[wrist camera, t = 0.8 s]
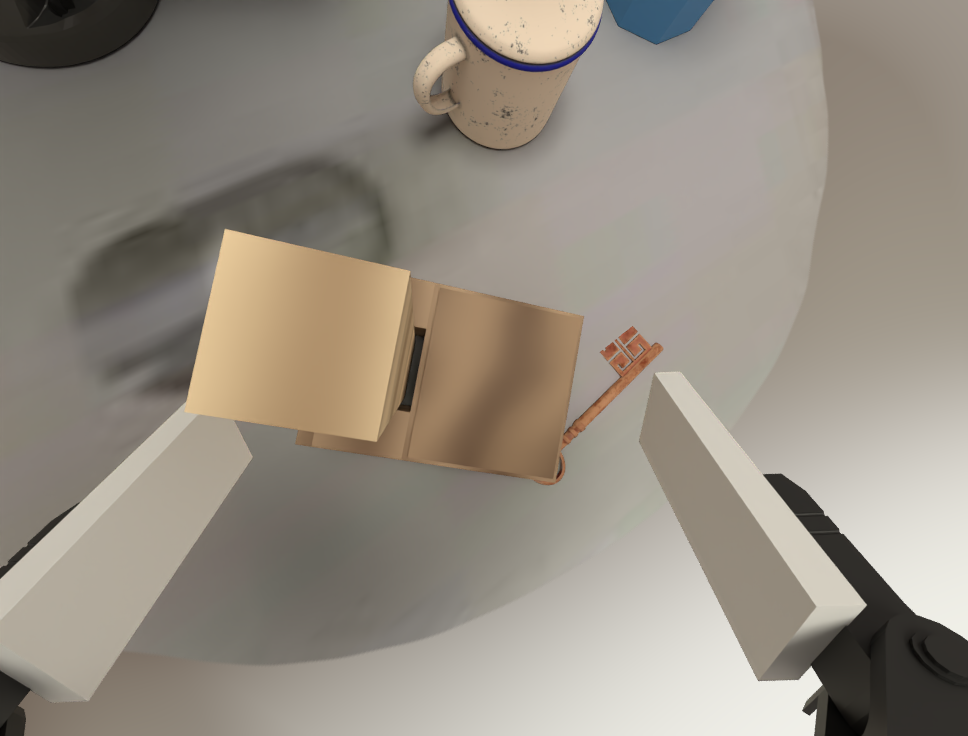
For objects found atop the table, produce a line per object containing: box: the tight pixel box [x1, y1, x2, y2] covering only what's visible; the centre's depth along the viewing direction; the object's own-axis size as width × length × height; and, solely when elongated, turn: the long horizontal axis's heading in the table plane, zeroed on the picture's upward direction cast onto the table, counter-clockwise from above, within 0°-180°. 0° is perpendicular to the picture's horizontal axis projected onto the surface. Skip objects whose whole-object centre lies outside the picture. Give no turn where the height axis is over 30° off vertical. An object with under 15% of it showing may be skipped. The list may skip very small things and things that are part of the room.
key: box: [534, 326, 663, 485], centre depth 31 cm, size 6×1×15 cm
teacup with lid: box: [413, 0, 604, 149], centre depth 24 cm, size 12×9×12 cm
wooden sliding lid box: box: [295, 278, 584, 483], centre depth 26 cm, size 16×11×5 cm
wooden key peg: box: [184, 229, 415, 442], centre depth 19 cm, size 4×4×20 cm
